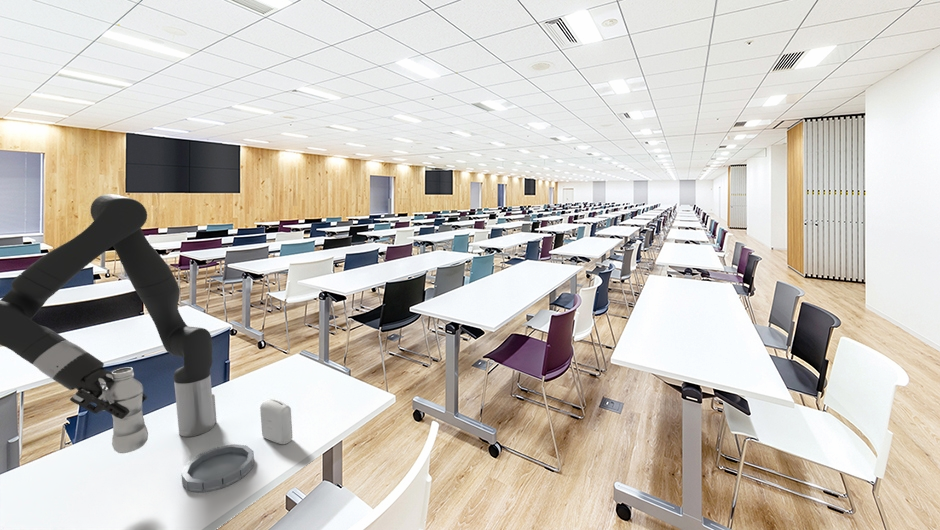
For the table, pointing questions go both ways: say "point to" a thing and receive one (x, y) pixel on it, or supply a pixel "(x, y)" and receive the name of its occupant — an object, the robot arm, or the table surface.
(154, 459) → the table surface
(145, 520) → the table surface
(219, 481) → the round tray
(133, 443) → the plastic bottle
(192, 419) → the robot arm
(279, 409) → the photo printer
